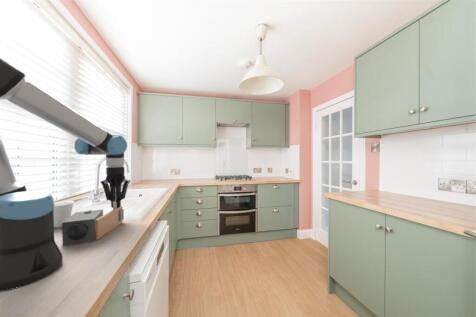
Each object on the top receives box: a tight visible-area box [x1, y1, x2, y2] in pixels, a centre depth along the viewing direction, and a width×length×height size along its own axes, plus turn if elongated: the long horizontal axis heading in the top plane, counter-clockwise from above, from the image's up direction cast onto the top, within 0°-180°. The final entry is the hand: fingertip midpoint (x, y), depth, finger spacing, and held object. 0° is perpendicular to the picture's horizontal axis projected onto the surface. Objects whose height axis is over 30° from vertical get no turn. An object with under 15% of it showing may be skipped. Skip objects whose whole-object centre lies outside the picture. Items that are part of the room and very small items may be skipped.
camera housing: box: [61, 209, 104, 247], centre depth 79 cm, size 16×10×10 cm, turn 24°
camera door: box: [95, 205, 125, 240], centre depth 85 cm, size 20×2×8 cm, turn 7°
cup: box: [54, 200, 75, 229], centre depth 92 cm, size 10×10×11 cm
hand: (116, 213), depth 92 cm, fingers closed
